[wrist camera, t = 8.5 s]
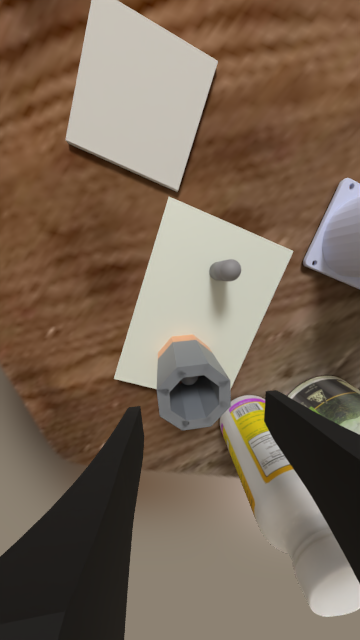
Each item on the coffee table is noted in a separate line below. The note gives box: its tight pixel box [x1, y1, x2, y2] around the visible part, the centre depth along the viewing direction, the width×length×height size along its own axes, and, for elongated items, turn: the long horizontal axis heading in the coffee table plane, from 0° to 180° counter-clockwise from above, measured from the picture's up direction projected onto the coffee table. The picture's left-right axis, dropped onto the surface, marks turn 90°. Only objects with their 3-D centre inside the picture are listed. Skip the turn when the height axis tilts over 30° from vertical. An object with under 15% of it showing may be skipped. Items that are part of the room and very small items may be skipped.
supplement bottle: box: [220, 395, 360, 617], centre depth 16 cm, size 7×7×13 cm
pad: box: [66, 0, 218, 192], centre depth 14 cm, size 9×9×1 cm
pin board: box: [114, 197, 293, 389], centre depth 16 cm, size 12×17×5 cm
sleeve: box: [157, 334, 231, 431], centre depth 15 cm, size 5×5×6 cm
